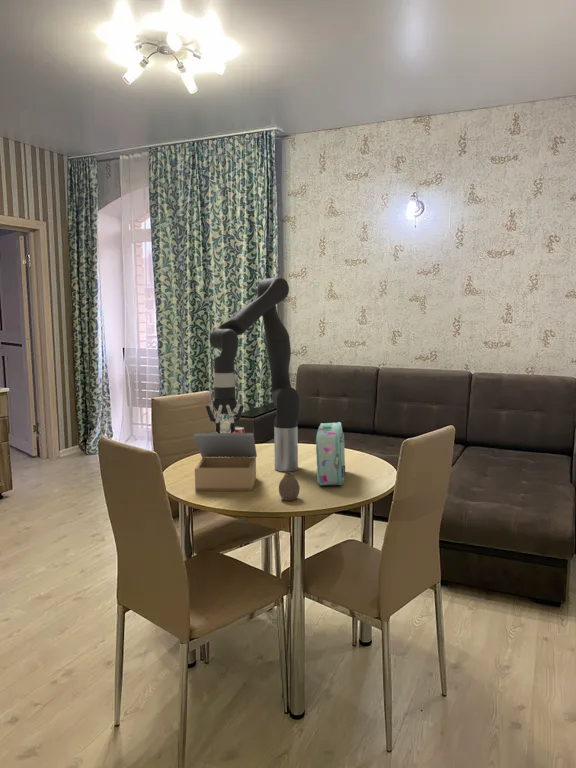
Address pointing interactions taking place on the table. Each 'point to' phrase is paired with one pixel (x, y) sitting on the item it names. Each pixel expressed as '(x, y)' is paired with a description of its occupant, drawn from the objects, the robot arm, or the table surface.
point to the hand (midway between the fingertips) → (225, 432)
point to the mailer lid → (226, 443)
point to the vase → (289, 487)
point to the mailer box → (225, 474)
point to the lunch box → (330, 454)
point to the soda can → (239, 430)
